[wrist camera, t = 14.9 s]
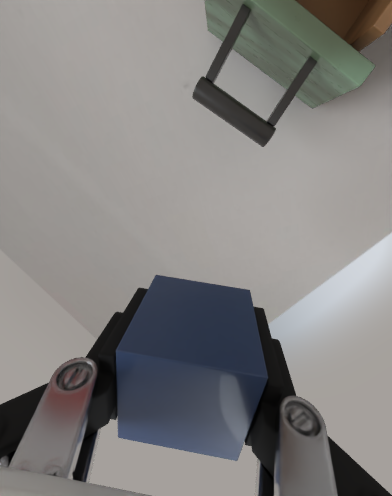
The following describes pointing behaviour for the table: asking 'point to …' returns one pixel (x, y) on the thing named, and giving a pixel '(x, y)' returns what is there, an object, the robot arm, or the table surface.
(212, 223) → the table surface
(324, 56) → the drawer
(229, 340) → the block
